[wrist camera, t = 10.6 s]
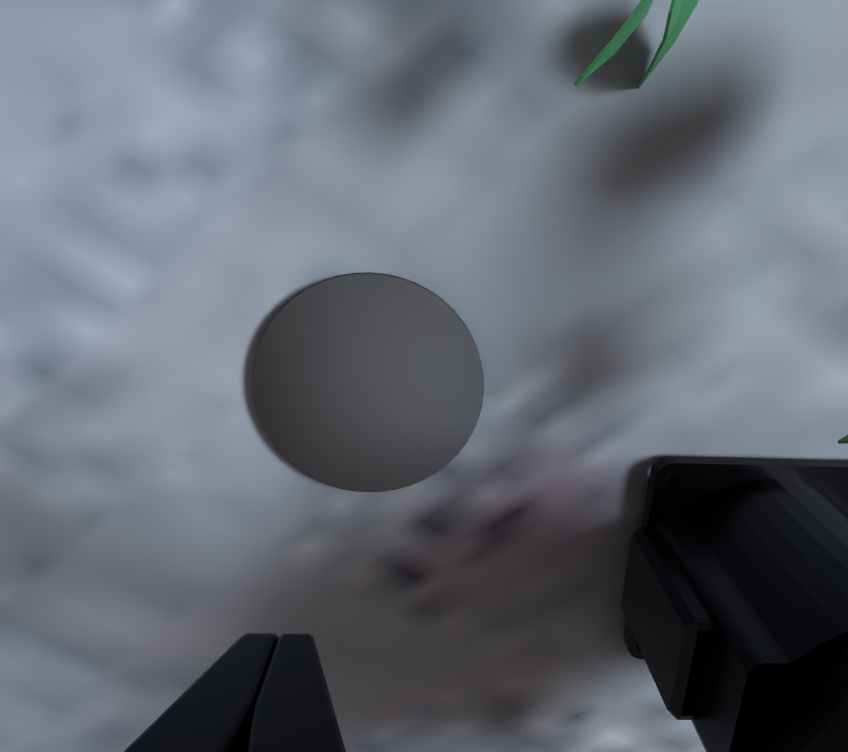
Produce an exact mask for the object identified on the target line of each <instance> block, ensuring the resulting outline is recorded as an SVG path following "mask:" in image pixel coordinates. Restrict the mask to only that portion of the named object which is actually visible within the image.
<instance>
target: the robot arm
mask: <svg viewBox="0 0 848 752" xmlns="http://www.w3.org/2000/svg"><path fill="white" fill-rule="evenodd" d="M673 471H676V472H678V473H677V475H676V477H675V478H674V479H673V480H671V481H664V478H665V476H666V475H667V474H668V473H670V472H673ZM621 607H622V609H623V612H624V614H625V616H626V618H627V620H626V626H625V632H624V642H625V644H626V646H627V649H628V651H629V652H630V654H631V655H632V656H634V657H635V658H639V659H645V661H646V663H647V666H648V668H649V670H650V672H651V674H652V677H653V679H654V681H655V683H656V686H657V688H658V690H659V692H660V695H661V697H662V699H663V701H664V704H665V706H666V708H667V710H668V711H669V712H670V713H671V714H672V715H673V716H674V717H675V718H676V719H678V720H691V721H692V723H693V725H694V727H695V729H696V731H697V734H698V736H699V738H700V740H701V742H702V744H703V746H704V748H705V750H706V752H848V461H837V460H796V459H756V458H715V457H674V456H671V457H664V458H662V459H660V460H658V461H657V462H656V463H655V464H654V465H653V467H652V469H651V472H650V477H649V483H648V489H647V496H646V502H645V508H644V514H643V520H642V527H639V528H638V529H637V530H636V531H635V532H634V533H633V534H632V538H631V544H630V551H629V557H628V563H627V570H626V576H625V582H624V589H623V595H622V602H621ZM124 752H346V751H345V747H344V744H343V740H342V737H341V733H340V730H339V726H338V723H337V719H336V715H335V712H334V708H333V705H332V701H331V698H330V694H329V691H328V687H327V684H326V680H325V677H324V673H323V670H322V666H321V663H320V659H319V656H318V652H317V649H316V645H315V641H314V638H313V637H312V636H311V635H310V634H282V635H281V636H280V637H279V638H278V636H277V635H276V634H273V633H246V634H245V635H243V636H242V637H240V638H239V639H238V640H237V641H236V642H235V643H234V644H233V645H232V646H231V647H230V648H229V649H228V650H227V651H226V652H225V653H224V654H223V655H222V656H221V657H220V658H219V659H218V660H217V661H216V662H215V663H214V664H213V665H212V666H211V667H210V668H209V669H208V670H207V671H206V672H205V673H204V674H203V675H202V676H201V677H200V678H199V679H197V680H196V681H195V682H194V683H193V684H192V685H191V686H190V687H189V688H188V689H187V690H186V691H185V692H184V693H183V694H182V695H181V696H180V697H179V698H178V699H177V700H176V701H175V702H174V703H173V704H172V705H171V706H170V707H169V708H168V709H167V710H166V711H165V712H164V713H163V714H162V715H161V716H160V717H159V718H158V719H157V720H156V721H155V722H154V723H153V724H152V725H151V726H149V727H148V728H147V729H146V730H145V731H144V732H143V733H142V734H141V735H140V736H139V737H138V738H137V739H136V740H135V741H134V742H133V743H132V744H131V745H130V746H129V747H128V748H127V749H126V750H125V751H124Z"/></svg>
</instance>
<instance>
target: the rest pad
mask: <svg viewBox="0 0 848 752" xmlns="http://www.w3.org/2000/svg"><path fill="white" fill-rule="evenodd" d="M252 389H253V397H254V403H255V406H256V410H257V414H258V417H259V419H260V421H261V424H262V426H263V428H264V430H265V432H266V433H267V435H268V437H269V439H270V440H271V441H272V443H273V444H274V445H275V447H276V448H277V449H278V451H279V452H280V453H281V454H282V455H283V456H284V457H285V458H286V459H287V460H288V461H289V462H291V463H292V464H293V465H294V466H296V467H297V468H298V469H299V470H301V471H302V472H304V473H306V474H307V475H309V476H311V477H312V478H314V479H317V480H319V481H321V482H323V483H325V484H328V485H331V486H334V487H338V488H342V489H347V490H352V491H362V492H382V491H388V490H395V489H399V488H403V487H406V486H410V485H412V484H415V483H417V482H420V481H422V480H424V479H426V478H428V477H429V476H431V475H433V474H435V473H436V472H437V471H439V470H440V469H442V468H443V467H444V466H446V465H447V464H448V463H449V462H450V461H451V460H452V459H453V458H454V457H455V456H456V455H457V454H458V453H459V451H460V450H461V449H462V448H463V447H464V445H465V444H466V442H467V441H468V439H469V437H470V436H471V434H472V432H473V430H474V428H475V425H476V423H477V421H478V418H479V414H480V411H481V407H482V401H483V393H484V378H483V371H482V364H481V361H480V357H479V354H478V350H477V347H476V345H475V342H474V340H473V338H472V336H471V333H470V332H469V330H468V329H467V327H466V325H465V324H464V322H463V321H462V319H461V318H460V317H459V316H458V315H457V313H456V312H455V311H454V310H453V309H452V308H451V307H450V306H449V305H448V304H447V303H446V302H445V301H444V300H443V299H441V298H440V297H438V296H437V295H436V294H434V293H433V292H431V291H430V290H428V289H426V288H424V287H422V286H421V285H419V284H417V283H414V282H412V281H409V280H406V279H404V278H401V277H397V276H392V275H388V274H380V273H352V274H346V275H340V276H336V277H333V278H329V279H326V280H323V281H321V282H319V283H317V284H315V285H312V286H310V287H309V288H307V289H305V290H304V291H302V292H301V293H299V294H298V295H296V296H295V297H294V298H293V299H292V300H290V301H289V302H288V303H287V304H286V305H285V306H284V307H283V308H282V309H281V310H280V311H279V313H278V314H277V315H276V316H275V317H274V319H273V320H272V322H271V323H270V325H269V326H268V328H267V329H266V331H265V333H264V335H263V337H262V339H261V341H260V343H259V346H258V349H257V352H256V355H255V359H254V366H253V372H252Z"/></svg>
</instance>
